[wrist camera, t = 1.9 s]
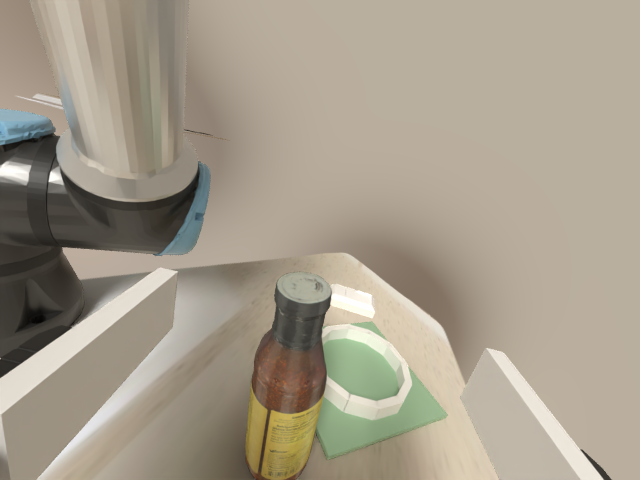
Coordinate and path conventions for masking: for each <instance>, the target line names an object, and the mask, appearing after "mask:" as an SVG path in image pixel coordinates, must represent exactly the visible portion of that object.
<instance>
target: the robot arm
mask: <svg viewBox="0 0 640 480" xmlns="http://www.w3.org/2000/svg"><path fill="white" fill-rule="evenodd" d="M29 1H30V4H31V7H32V10H33V14H34V17H35V20H36V23H37V26H38V29H39V33H40V36H41V39H42V42H43V45H44V48H45V51H46V54H47V58H48V61H49V64H50V67H51V70H52V73H53V77H54V80H55V83H56V86H57V89H58V92H59V96H60V99H61V102H62V105H63V108H64V111H65V115H66V118H67V121H68V124H69V128H68V129H67V130H66V131H65V132H64V133H63V134H62V135H61V137H60V136H56V135H55V134H54V132H55V127H53V124H52V122H51V120H50V119H48V118H47V117H45V116H42V115H36V114H33V113H29V112H23V111H15V110H7V109H0V357H2V358H1V359H0V480H36V479H37V478H38V477H39V476H40V475H41V474H42V473H43V472H44V470H45V469H46V468H47V467H48V466H49V465H50V464H51V463H52V461H53V460H54V459H55V458H56V457H57V456H58V455H59V454H60V453H61V451H62V450H63V449H64V448H65V447H66V446H67V445H68V444H69V442H70V441H71V440H72V439H73V438H74V437H75V436H76V435H77V434H78V432H79V431H80V430H81V429H82V428H83V427H84V426H85V425H86V423H87V422H88V421H89V420H90V419H91V418H92V417H93V416H94V415H95V413H96V412H97V411H98V410H99V409H100V408H101V407H102V406H103V404H104V403H105V402H106V401H107V400H108V399H109V398H110V397H111V396H112V394H113V393H114V392H115V391H116V390H117V389H118V388H119V387H120V385H121V384H122V383H123V382H124V381H125V380H126V379H127V378H128V377H129V375H130V374H131V373H132V372H133V371H134V370H135V369H136V368H137V366H138V365H139V364H140V363H141V362H142V361H143V360H144V359H145V358H146V356H147V355H148V354H149V353H150V352H151V351H152V350H153V349H154V347H155V346H156V345H157V344H158V343H159V342H160V341H161V340H162V339H163V337H164V336H165V335H166V334H167V333H168V332H169V331H170V330H171V328H172V327H173V319H174V309H175V298H176V288H177V277H178V271H174V270H170V269H166V268H161V267H159V268H158V269H156V270H155V271H153V272H152V273H150V274H149V275H147V276H146V277H145V278H143V279H142V280H140V281H139V282H137V283H136V284H135V285H133V286H132V287H130V288H129V289H127V290H126V291H125V292H123V293H122V294H120V295H119V296H117V297H116V298H115V299H113V300H112V301H110V302H109V303H107V304H106V305H105V306H103V307H102V308H100V309H99V310H97V311H96V312H95V313H93V314H92V315H90V316H89V317H87V318H86V319H85V320H83V321H82V322H80V323H79V324H77V325H76V326H74V327H73V328H71V327H69V326H70V325H71V324H72V323H73V322H74V321H75V320H76V319H77V318H78V317H79V315H80V313H81V312H82V309H83V306H84V296H83V287H82V284H81V282H80V280H79V279H78V277H77V275H76V273H75V272H74V270H73V268H72V267H71V265H70V263H69V262H68V260H67V258H66V256H65V255H64V253H63V250H62V247H68V248H81V249H95V250H109V251H123V252H135V253H146V254H153V255H156V256H162V255H183V254H186V253H188V252H190V251H191V250H192V249H193V248H194V246H195V245H196V243H197V240H198V237H199V234H200V231H201V228H202V224H203V216H204V214H205V210H206V207H207V202H208V196H209V189H210V177H211V175H210V169H209V168H208V166H207V165H205V164H202V163H201V162H200V161H198V158H197V153H196V150H195V149H194V146H193V145H192V144H191V142H190V141H189V140H188V139H187V138H186V137H185V136H184V112H185V86H186V59H187V34H188V8H189V7H188V6H189V0H29ZM460 398H461V400H462V402H463V404H464V407H465V409H466V411H467V413H468V415H469V417H470V419H471V421H472V423H473V425H474V427H475V430H476V432H477V434H478V436H479V438H480V440H481V442H482V444H483V446H484V448H485V450H486V452H487V455H488V457H489V459H490V461H491V463H492V465H493V467H494V469H495V471H496V473H497V475H498V478H499V480H611V479H610V477H609V476H608V475H607V474H606V472H605V471H604V470H603V469H602V468H601V467H600V466H599V465H598V464H597V463H596V462H595V461H594V460H593V459H592V458H591V457H589V456H588V455H587V454H586V453H585V452H584V451H583V450H581V449H579V448H578V446H577V445H576V444H575V443H574V441H573V440H572V439H571V437H570V436H569V435H568V434H567V432H566V431H565V430H564V429H563V427H562V426H561V425H560V424H559V422H558V421H557V420H556V418H555V417H554V416H553V415H552V413H551V412H550V411H549V410H548V408H547V407H546V406H545V404H544V403H543V402H542V401H541V399H540V398H539V397H538V396H537V395H536V393H535V392H534V391H533V389H532V388H531V387H530V385H529V384H528V383H527V382H526V380H525V379H524V378H523V377H522V375H521V374H520V373H519V372H518V370H517V369H516V368H515V367H514V365H513V364H512V363H511V361H510V360H509V359H508V358H507V356H506V355H505V354H504V353H503V352H500V351H496V350H492V349H488V348H486V349H485V350H484V353H483V354H482V356H481V358H480V360H479V362H478V364H477V366H476V367H475V369H474V371H473V373H472V375H471V377H470V379H469V381H468V383H467V385H466V386H465V388H464V390H463V392H462V394H461V396H460Z"/></svg>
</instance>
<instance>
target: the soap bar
mask: <svg viewBox="0 0 640 480" xmlns="http://www.w3.org/2000/svg"><path fill="white" fill-rule="evenodd" d="M330 287H331V289H332V296H331V303H330V305H332V306H335V307H338V308H341V309H344V310H348V311H351V312H354V313H357V314H360V315H363V316H367V317H370V318H373V316H374V314H375V304H374V297H373V296H372V295H371V294H367V293H364V292H361V291H358V290H355V289H352V288H348V287H345V286H342V285H339V284H331V286H330Z"/></svg>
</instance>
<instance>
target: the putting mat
mask: <svg viewBox="0 0 640 480" xmlns="http://www.w3.org/2000/svg"><path fill="white" fill-rule="evenodd" d="M322 331H323V333H322V343H323V351H324V358H325V363H326V369H327V381H326V387H325V392H324V396H323V400H322V404H321V408H320V412H319V417H318V421H317V425H316V429H315V431H316V434H317V436H318V438H319V441H320V443H321V446H322V448H323V451H324V453H325V456H326V458H327V460H329V459H332V458H335V457H338V456H340V455H343V454H346V453H349V452H352V451H354V450H357V449H360V448H363V447H366V446H368V445H371V444H374V443H377V442H380V441H382V440H385V439H388V438H391V437H394V436H396V435H399V434H402V433H405V432H408V431H410V430H413V429H416V428H419V427H422V426H424V425H427V424H430V423H433V422H436V421H438V420H441V419H444V418H446V417H447V413H446V412H445V411H444V410H443V408H442V407H441V406H440V405H439V403H438V402H437V401H436V400H435V399H434V397H433V396H432V395H431V394H430V392H429V391H428V390H427V389H426V387H425V386H424V385H423V384H422V382H421V381H420V380H419V379H418V378H417V376H416V375H415V374H414V373H413V371H412V370H411V369H410V368H409V366H408V364H407V362H406V361H405V360H404V358H403V357H402V356H401V355H400V354H399V352H398V351H397V350H396V349H395V347H394V346H393V345H392V344H391V343H390V342H388V341H387V339H386V338H385V337H384V336H383V334H382V333H381V332H380V331H379V330H378V328H377V327H376V326H375V325H374V323H373V322H363V323H354V324H341V325H332V326H324V327H322Z"/></svg>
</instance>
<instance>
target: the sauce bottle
mask: <svg viewBox="0 0 640 480" xmlns="http://www.w3.org/2000/svg"><path fill="white" fill-rule="evenodd" d="M274 296H275V302H276V312H275V320H274V322H273V325H272V329H271V330H269V331H268V332H267V333H266V334H265V335H264V337H263V338H262V340H261V342H260V345H259V347H258V349H257V352H256V355H255V361H254V372H253V375H252V381H251V391H250V400H249V410H248V421H247V432H246V443H245V451H246V463H247V465H248V467H249V470H250V472H251V473H252V475H253V476H254V478H256V479H257V480H295V479H296V478H297V477H298V476H299V475H300V474H301V472H302V471H303V469H304V468H305V466H306V462H307V460H308V458H309V455H310V451H311V447H312V443H313V438H314V434H315V429H316V425H317V421H318V417H319V412H320V408H321V404H322V400H323V396H324V392H325V387H326V381H327V369H326V363H325V358H324V351H323V343H322V333H323V331H322V327H323V323H324V318H325V314H326V312H327V310H328V309H329V307H330V303H331V296H332V289H331V287H330V285H329V284H328V283H327V282H326V281H325V280H324V279H323V278H321V277H320V276H318V275H316V274H312V273H307V272H293V273H287V274H285V275H283V276H282V277H280V278H279V280H278V281H277V284H276V289H275V295H274Z"/></svg>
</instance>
